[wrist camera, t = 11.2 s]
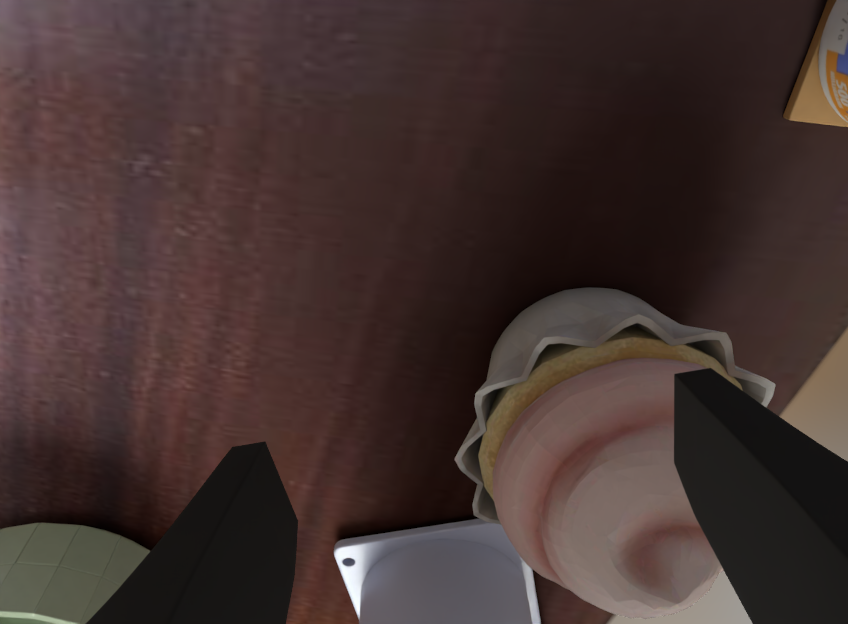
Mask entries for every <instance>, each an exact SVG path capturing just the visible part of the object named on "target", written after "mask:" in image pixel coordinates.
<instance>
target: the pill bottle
mask: <svg viewBox="0 0 848 624" xmlns="http://www.w3.org/2000/svg"><path fill="white" fill-rule="evenodd" d="M818 67H819V76H820V81H821V85H822V88H823V91H824V94H825V96H826V98H827V100H828V102H829V103H830V105H831V106H832V108H833V109H834V110H835V111H836V113H837V114H838V115H839V116H840V117H841V118H842V119H844V120H845V121H846V122H848V0H837V1H836V2H835V4H834V6H833V8H832V10H831V12H830V14H829V17H828V19H827V22H826V25H825V27H824V30H823V33H822V37H821V42H820V47H819V59H818Z"/></svg>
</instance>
